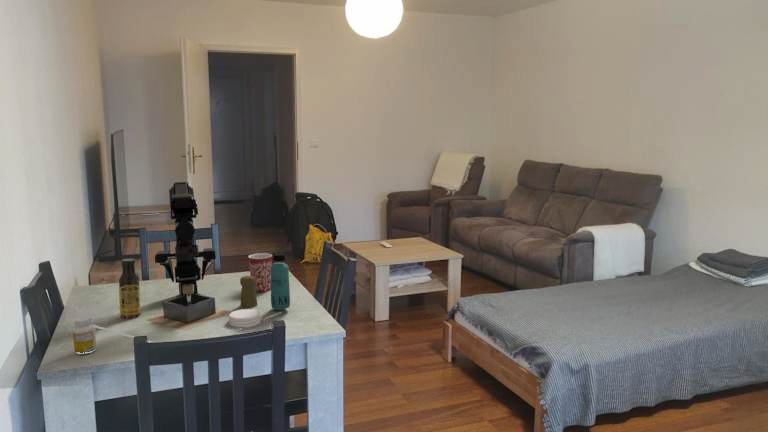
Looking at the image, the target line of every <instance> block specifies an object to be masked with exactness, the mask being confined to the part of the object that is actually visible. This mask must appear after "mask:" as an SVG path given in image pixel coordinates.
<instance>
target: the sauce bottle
mask: <svg viewBox="0 0 768 432" xmlns="http://www.w3.org/2000/svg"><path fill="white" fill-rule="evenodd" d="M135 264H136V260H135V258H124V259H122V260H121V267H122V271H121V274H120V277H119V279H118V283H119V284H118V285H119V287H118V291H119V292H118V295H119V314H120V319H121V320H132V319H136V318H137V319H138V318H139V317H140V316H141V292H140V291H141V290H140V277H139V276H138V275H137V274H136V273H137V272H136V267H135Z"/></svg>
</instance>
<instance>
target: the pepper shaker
mask: <svg viewBox="0 0 768 432" xmlns="http://www.w3.org/2000/svg"><path fill="white" fill-rule="evenodd" d="M239 284H240V286H241V295H240V308H243V309H253V308H255V307H257V306H258V300H257V294H256V292H255V288H254V284H255V278H254V277H253V276H251V275H244V276H242V277H240V280H239Z"/></svg>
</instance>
